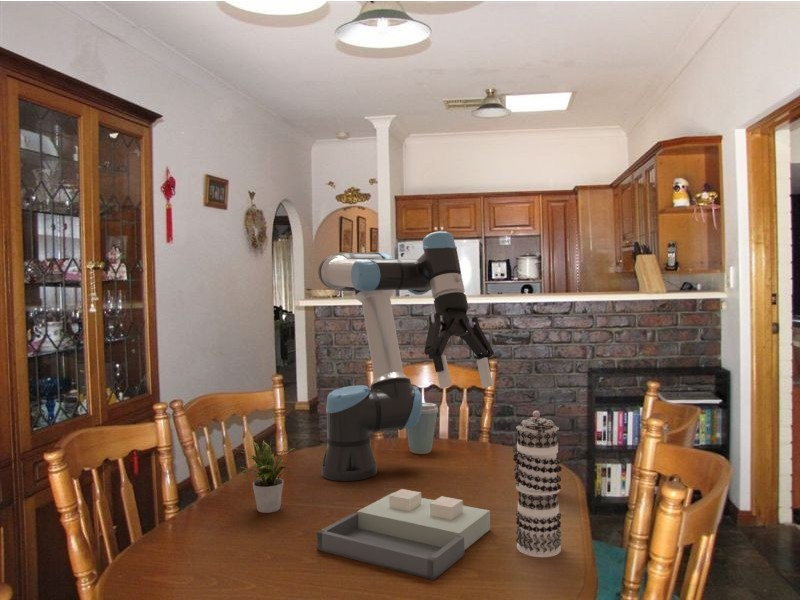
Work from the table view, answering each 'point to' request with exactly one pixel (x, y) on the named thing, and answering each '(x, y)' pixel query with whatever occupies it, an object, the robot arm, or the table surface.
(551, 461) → the black and white jar
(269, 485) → the house plant
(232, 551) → the table surface
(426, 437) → the disposable coffee cup
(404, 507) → the tile
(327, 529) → the tray
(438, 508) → the tile
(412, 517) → the board
